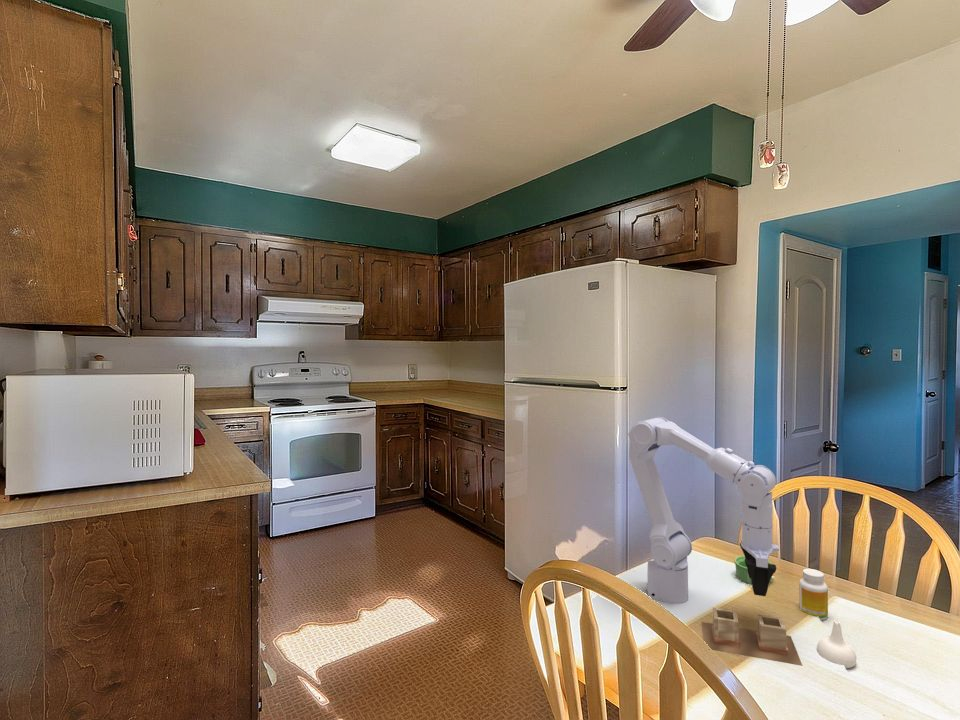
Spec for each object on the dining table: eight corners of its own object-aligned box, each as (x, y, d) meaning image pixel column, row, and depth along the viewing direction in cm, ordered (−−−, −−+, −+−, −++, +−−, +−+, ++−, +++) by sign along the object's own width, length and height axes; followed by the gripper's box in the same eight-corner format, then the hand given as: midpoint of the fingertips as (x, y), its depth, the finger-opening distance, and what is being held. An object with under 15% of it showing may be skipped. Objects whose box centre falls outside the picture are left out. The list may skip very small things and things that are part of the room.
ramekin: (737, 568, 138) (737, 552, 138) (775, 576, 132) (775, 560, 132) (731, 581, 130) (731, 564, 130) (771, 590, 125) (771, 573, 125)
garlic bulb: (810, 658, 99) (808, 620, 99) (827, 645, 102) (825, 608, 102) (846, 677, 94) (844, 636, 93) (863, 662, 97) (861, 623, 96)
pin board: (704, 653, 101) (704, 633, 101) (701, 626, 110) (701, 608, 110) (802, 670, 95) (802, 650, 95) (790, 640, 104) (790, 621, 104)
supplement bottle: (832, 621, 111) (832, 578, 110) (805, 619, 112) (805, 577, 111) (821, 609, 116) (821, 567, 116) (795, 607, 117) (795, 566, 117)
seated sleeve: (713, 642, 103) (712, 618, 102) (711, 629, 107) (711, 606, 107) (740, 647, 101) (740, 623, 101) (737, 633, 105) (737, 610, 105)
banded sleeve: (788, 655, 98) (788, 630, 98) (759, 650, 100) (759, 626, 99) (782, 641, 103) (782, 617, 102) (755, 636, 104) (755, 613, 104)
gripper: (785, 539, 99) (785, 606, 99) (772, 514, 112) (772, 574, 113) (745, 534, 102) (745, 600, 102) (737, 511, 115) (737, 569, 116)
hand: (757, 586), depth 108 cm, fingers open, 7 cm apart
